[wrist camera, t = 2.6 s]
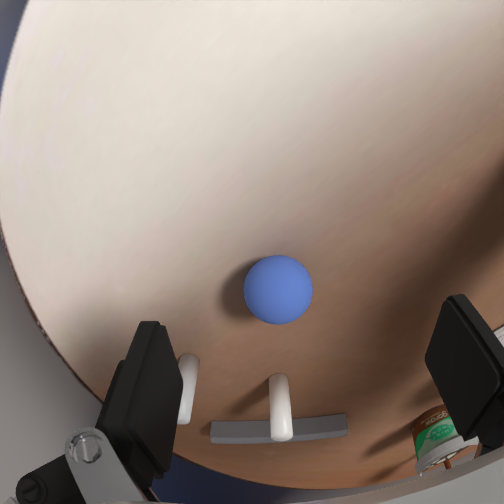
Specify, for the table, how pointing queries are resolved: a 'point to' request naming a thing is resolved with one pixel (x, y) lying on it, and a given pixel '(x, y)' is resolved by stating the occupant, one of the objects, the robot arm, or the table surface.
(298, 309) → the ball
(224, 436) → the stopper wall
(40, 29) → the table surface
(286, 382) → the white pin
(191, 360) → the grey pin
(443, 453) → the food container
